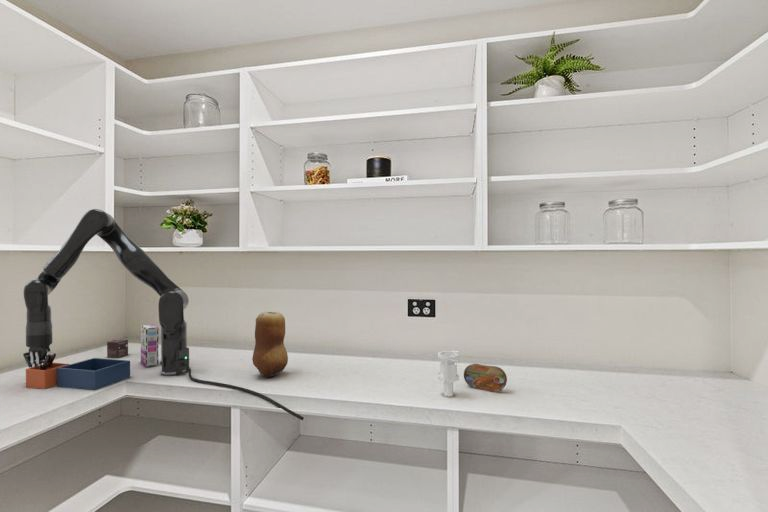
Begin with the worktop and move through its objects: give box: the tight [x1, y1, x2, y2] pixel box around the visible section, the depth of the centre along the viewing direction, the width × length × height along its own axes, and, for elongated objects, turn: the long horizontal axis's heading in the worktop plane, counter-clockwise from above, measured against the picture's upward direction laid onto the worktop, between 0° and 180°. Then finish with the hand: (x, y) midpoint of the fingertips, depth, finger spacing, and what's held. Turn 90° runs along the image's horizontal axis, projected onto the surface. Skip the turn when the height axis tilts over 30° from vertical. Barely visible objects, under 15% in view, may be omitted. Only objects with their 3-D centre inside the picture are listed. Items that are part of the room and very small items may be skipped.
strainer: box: [437, 350, 460, 397], centre depth 136 cm, size 7×7×15 cm
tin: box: [463, 363, 508, 393], centre depth 141 cm, size 15×3×8 cm, turn 56°
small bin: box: [25, 362, 71, 390], centre depth 149 cm, size 9×9×6 cm
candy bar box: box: [140, 324, 159, 368], centre depth 175 cm, size 11×5×16 cm, turn 42°
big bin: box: [56, 357, 131, 391], centre depth 151 cm, size 18×15×7 cm
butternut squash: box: [252, 311, 289, 379], centre depth 158 cm, size 14×13×25 cm
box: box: [106, 338, 129, 359], centre depth 188 cm, size 6×6×7 cm
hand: (39, 378), depth 150 cm, fingers closed
